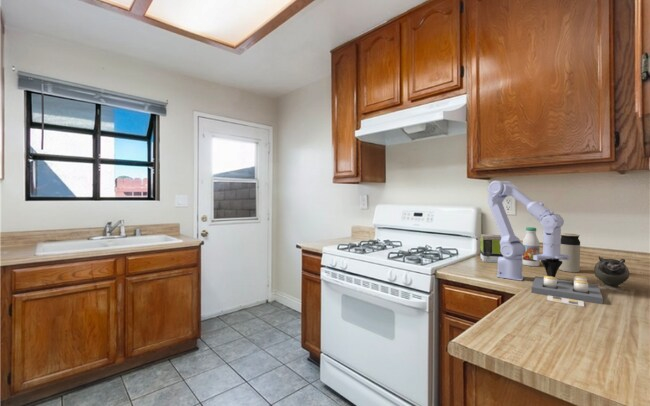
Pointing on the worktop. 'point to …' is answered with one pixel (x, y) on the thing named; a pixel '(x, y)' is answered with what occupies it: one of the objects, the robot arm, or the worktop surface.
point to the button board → (567, 290)
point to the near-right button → (581, 286)
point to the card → (565, 301)
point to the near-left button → (550, 281)
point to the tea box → (490, 248)
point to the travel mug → (570, 252)
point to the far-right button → (579, 278)
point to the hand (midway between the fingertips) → (551, 277)
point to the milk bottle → (530, 247)
